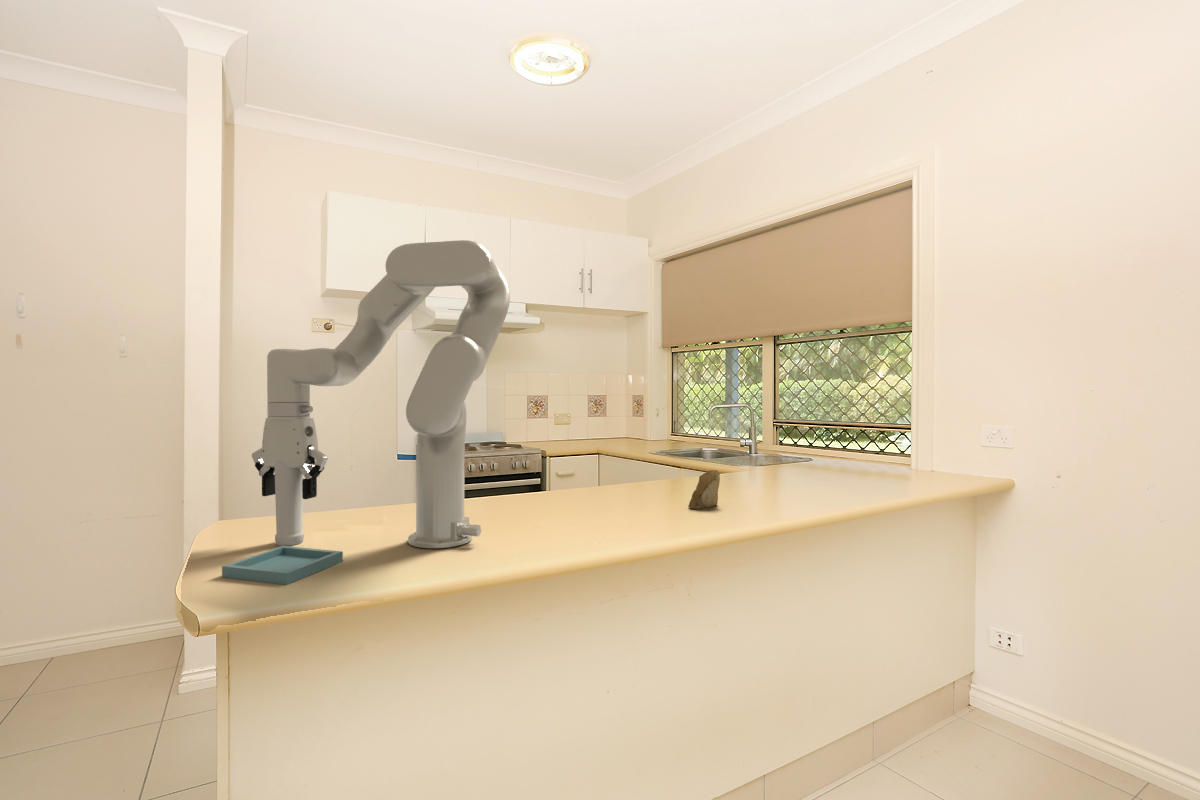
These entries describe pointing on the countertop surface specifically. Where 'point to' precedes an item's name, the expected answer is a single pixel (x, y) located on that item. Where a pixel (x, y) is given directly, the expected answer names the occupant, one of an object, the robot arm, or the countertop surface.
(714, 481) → the rock
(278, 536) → the bottle
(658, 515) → the countertop surface
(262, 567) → the tray
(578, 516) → the countertop surface
